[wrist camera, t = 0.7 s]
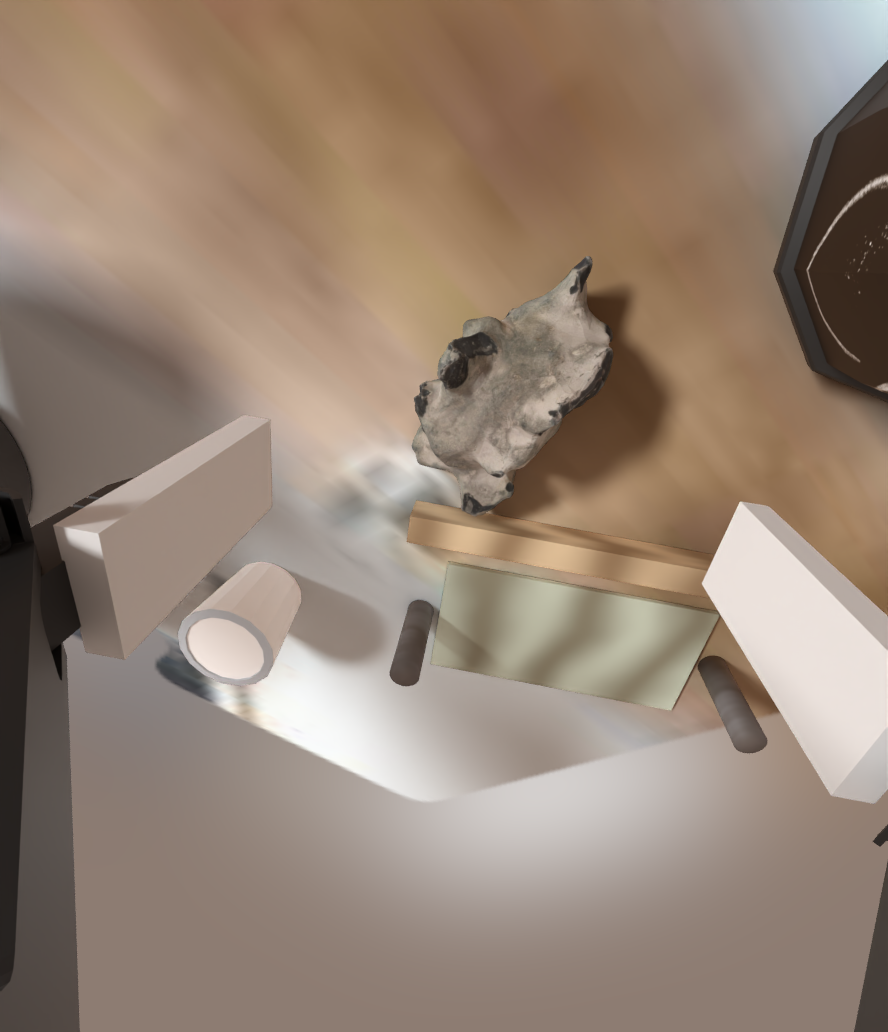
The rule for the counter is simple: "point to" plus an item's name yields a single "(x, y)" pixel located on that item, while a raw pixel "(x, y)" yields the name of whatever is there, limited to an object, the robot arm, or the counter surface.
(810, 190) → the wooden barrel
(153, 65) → the counter surface
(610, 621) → the grey tray with pegs
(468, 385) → the decorative stone
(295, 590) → the shot glass
